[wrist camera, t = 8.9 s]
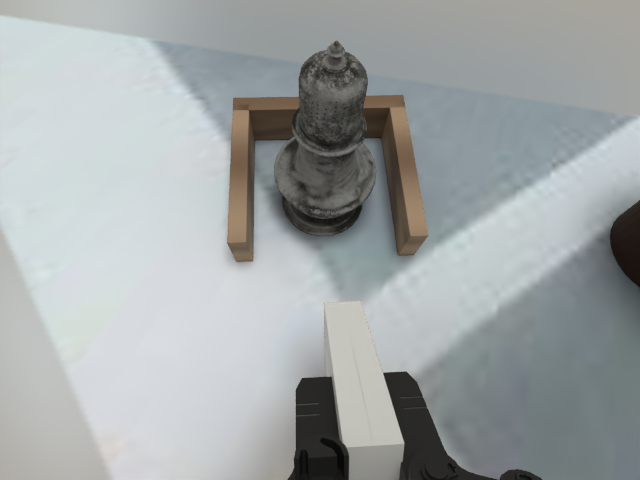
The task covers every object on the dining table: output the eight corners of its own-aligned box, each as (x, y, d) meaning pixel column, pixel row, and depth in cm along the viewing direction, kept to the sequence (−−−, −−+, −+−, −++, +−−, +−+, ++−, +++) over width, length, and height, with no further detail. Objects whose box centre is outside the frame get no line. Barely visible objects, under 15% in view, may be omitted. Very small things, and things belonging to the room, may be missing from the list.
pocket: (414, 254, 24) (428, 235, 21) (236, 261, 23) (227, 242, 20) (393, 125, 28) (403, 95, 25) (240, 128, 27) (233, 97, 24)
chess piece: (354, 251, 24) (398, 122, 13) (265, 225, 24) (231, 79, 13) (376, 174, 26) (428, 8, 15) (294, 152, 26) (286, -26, 15)
